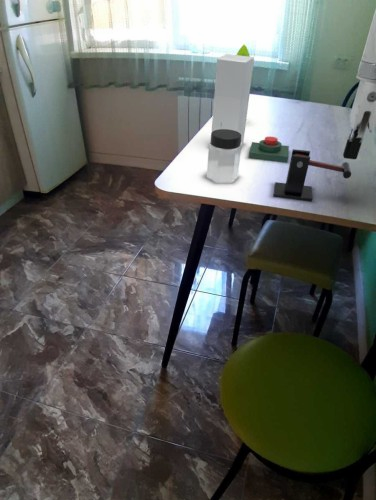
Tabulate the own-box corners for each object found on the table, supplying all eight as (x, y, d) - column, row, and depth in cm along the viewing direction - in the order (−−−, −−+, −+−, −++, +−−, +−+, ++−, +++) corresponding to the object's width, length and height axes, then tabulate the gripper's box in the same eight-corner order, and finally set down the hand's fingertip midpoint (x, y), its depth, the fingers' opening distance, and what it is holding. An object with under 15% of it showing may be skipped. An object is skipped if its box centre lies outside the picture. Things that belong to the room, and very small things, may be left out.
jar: (243, 181, 116) (249, 136, 108) (220, 187, 113) (225, 141, 105) (223, 170, 122) (227, 126, 113) (201, 175, 118) (204, 131, 110)
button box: (287, 152, 135) (290, 140, 132) (286, 164, 127) (289, 150, 125) (251, 148, 136) (252, 136, 133) (248, 159, 129) (250, 146, 126)
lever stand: (310, 190, 114) (320, 150, 106) (311, 203, 108) (322, 161, 100) (274, 186, 115) (282, 146, 107) (273, 198, 109) (281, 156, 102)
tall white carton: (209, 149, 134) (216, 58, 117) (218, 141, 140) (226, 53, 123) (235, 153, 132) (246, 62, 115) (243, 145, 138) (254, 57, 121)
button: (276, 143, 130) (278, 137, 129) (276, 147, 127) (277, 141, 126) (264, 141, 131) (265, 135, 130) (263, 145, 128) (264, 140, 127)
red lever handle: (347, 171, 107) (350, 162, 106) (349, 180, 103) (352, 170, 101) (293, 160, 108) (295, 150, 106) (292, 168, 104) (295, 158, 102)
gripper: (399, 80, 84) (368, 170, 96) (388, 67, 95) (361, 149, 107) (362, 77, 85) (336, 166, 97) (355, 63, 96) (332, 146, 108)
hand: (349, 157), depth 102 cm, fingers closed
